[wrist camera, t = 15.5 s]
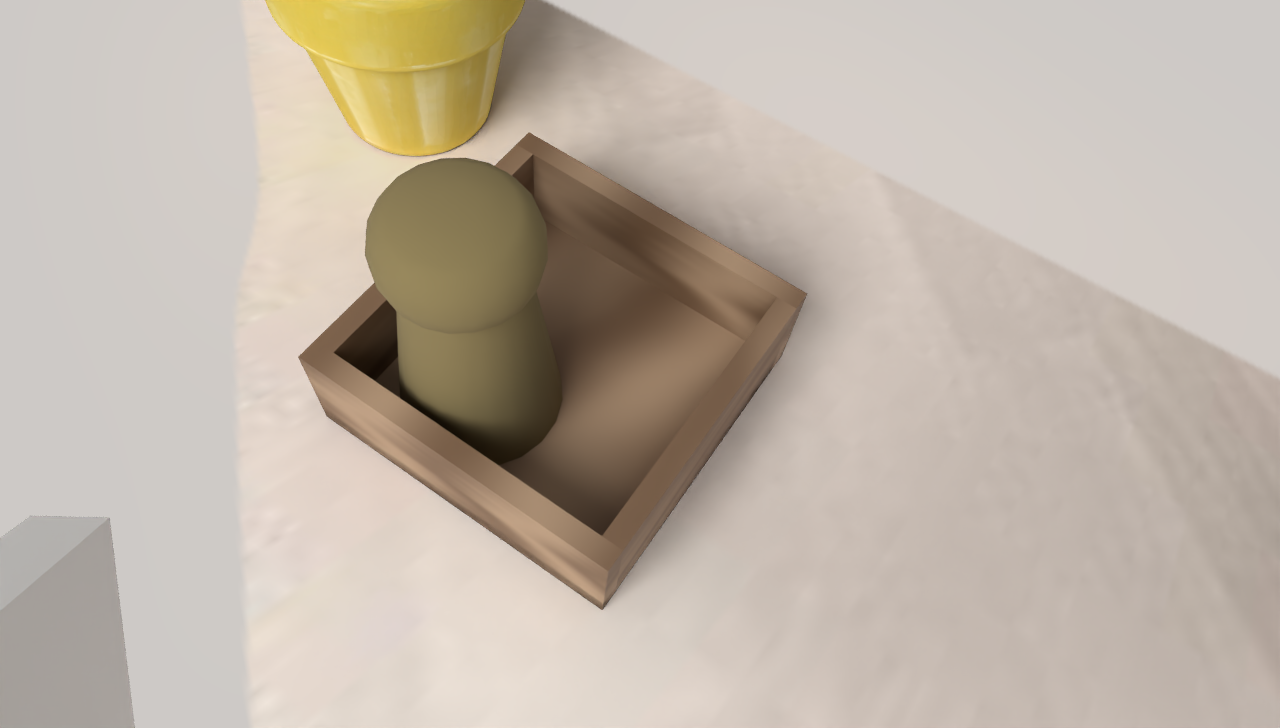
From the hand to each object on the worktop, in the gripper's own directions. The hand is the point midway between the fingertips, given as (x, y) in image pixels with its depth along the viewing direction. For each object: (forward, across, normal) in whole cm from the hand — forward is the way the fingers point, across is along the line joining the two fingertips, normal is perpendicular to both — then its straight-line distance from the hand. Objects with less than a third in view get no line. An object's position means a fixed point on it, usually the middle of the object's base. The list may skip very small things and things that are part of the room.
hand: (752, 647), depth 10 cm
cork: (+25, -6, -6) cm, 27 cm away
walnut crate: (+26, -3, -5) cm, 27 cm away
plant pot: (+37, -10, +5) cm, 38 cm away
